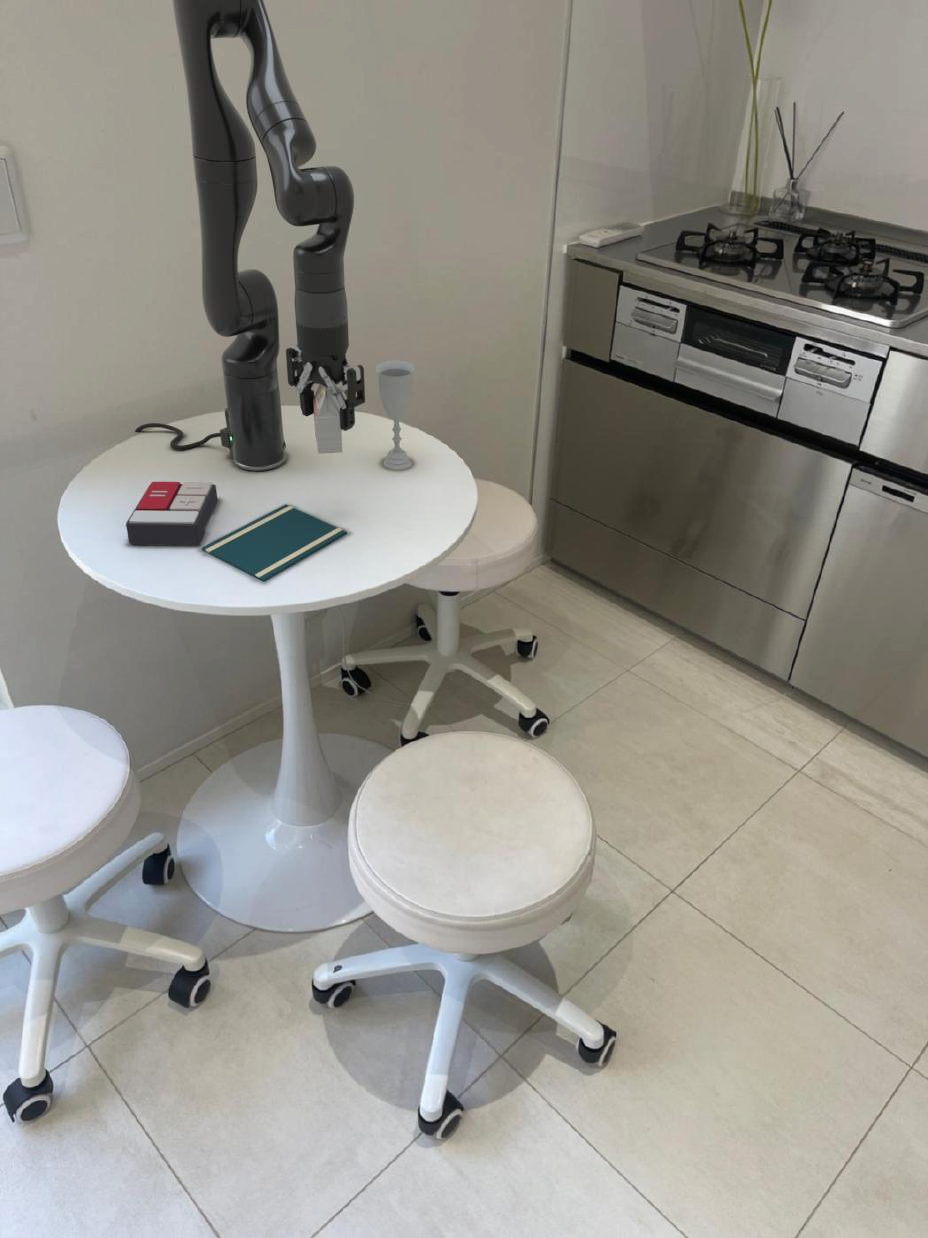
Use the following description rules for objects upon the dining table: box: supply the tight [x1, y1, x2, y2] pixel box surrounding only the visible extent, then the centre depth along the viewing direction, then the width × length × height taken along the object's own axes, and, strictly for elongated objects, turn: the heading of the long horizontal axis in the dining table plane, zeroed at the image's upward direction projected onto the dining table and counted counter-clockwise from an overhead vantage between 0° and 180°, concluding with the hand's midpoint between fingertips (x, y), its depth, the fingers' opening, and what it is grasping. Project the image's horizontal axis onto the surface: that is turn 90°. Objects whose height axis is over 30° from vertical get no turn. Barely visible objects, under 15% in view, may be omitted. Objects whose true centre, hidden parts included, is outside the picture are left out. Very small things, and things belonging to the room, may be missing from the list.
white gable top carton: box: [313, 384, 343, 455], centre depth 148 cm, size 4×7×10 cm, turn 11°
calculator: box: [125, 481, 219, 546], centre depth 155 cm, size 11×4×15 cm
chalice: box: [375, 360, 416, 471], centre depth 169 cm, size 7×7×18 cm
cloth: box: [201, 504, 348, 582], centre depth 151 cm, size 14×18×1 cm
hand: (327, 421), depth 148 cm, fingers closed on white gable top carton, 7 cm apart
